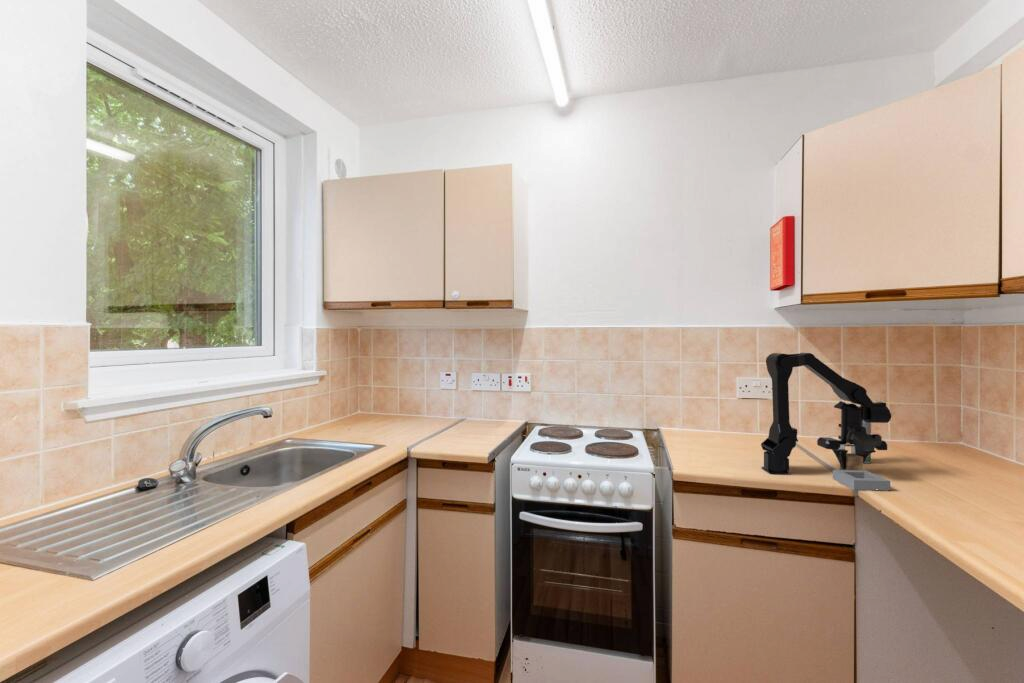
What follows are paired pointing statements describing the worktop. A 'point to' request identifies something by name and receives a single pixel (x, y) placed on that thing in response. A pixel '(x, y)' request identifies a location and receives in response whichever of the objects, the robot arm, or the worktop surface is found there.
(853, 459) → the peg
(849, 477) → the socket block
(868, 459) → the lotion bottle
